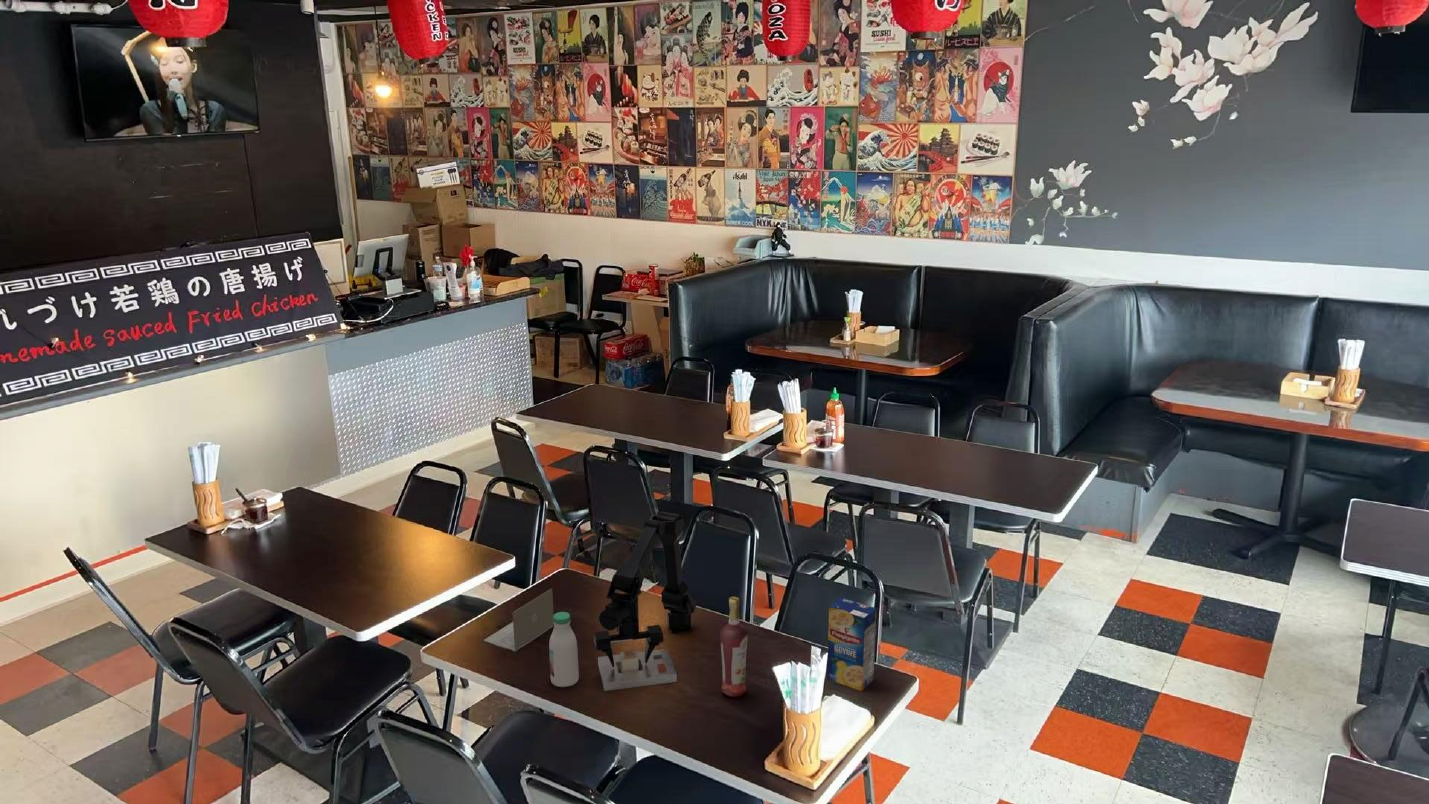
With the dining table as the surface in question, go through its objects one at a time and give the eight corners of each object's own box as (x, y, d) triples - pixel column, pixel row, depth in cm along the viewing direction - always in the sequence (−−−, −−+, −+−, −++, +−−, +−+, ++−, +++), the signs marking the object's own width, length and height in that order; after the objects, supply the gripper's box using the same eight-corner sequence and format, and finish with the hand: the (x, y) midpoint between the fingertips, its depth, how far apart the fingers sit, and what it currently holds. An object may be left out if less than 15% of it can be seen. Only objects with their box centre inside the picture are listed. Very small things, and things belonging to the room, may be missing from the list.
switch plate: (667, 656, 293) (667, 646, 292) (676, 681, 280) (676, 671, 279) (598, 665, 289) (597, 654, 288) (604, 691, 275) (604, 680, 275)
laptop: (523, 617, 317) (520, 579, 313) (554, 626, 311) (552, 588, 307) (483, 642, 302) (480, 602, 298) (515, 653, 296) (513, 612, 292)
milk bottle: (583, 675, 283) (580, 610, 278) (571, 690, 276) (567, 623, 271) (558, 671, 286) (555, 606, 280) (545, 685, 278) (542, 619, 273)
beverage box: (862, 691, 275) (865, 618, 269) (826, 678, 281) (828, 606, 275) (873, 680, 280) (876, 608, 274) (838, 668, 287) (841, 597, 281)
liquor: (738, 703, 270) (739, 607, 262) (715, 695, 273) (714, 600, 266) (752, 690, 276) (753, 596, 268) (729, 682, 279) (729, 590, 272)
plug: (636, 669, 286) (635, 648, 285) (638, 677, 282) (638, 656, 280) (620, 671, 285) (620, 650, 284) (623, 679, 281) (622, 658, 279)
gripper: (656, 597, 288) (657, 646, 293) (590, 604, 284) (592, 654, 289) (663, 615, 278) (664, 666, 282) (595, 623, 274) (597, 674, 278)
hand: (629, 664), depth 283 cm, fingers open, 9 cm apart
